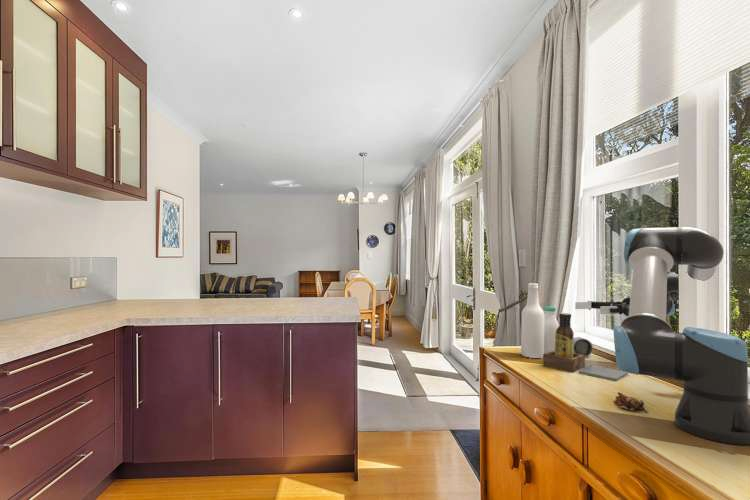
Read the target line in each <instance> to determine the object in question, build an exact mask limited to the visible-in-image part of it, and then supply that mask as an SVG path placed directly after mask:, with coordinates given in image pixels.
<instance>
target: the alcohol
mask: <svg viewBox="0 0 750 500" xmlns="http://www.w3.org/2000/svg"><path fill="white" fill-rule="evenodd" d="M527 288H528V289H527V297H526V299H527V300H526V301H527V302H526V305H525V306H524V308H523V309H522V311H521V325H520V326H521V329H520V330H521V332H520V333H521V334H520V339H521V341H520V343H521V344H520V345H521V347H520V351H521V352H520V353H521V356H522V355H523V356H525V357H524V358H526V357H529V358H528V359H531V358H541V359H543V354H544V309H542V307H541V306H540V298H539V284H538V283H536V282H529V283H528V284H527ZM523 356H522V357H523Z"/></svg>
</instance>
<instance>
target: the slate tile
mask: <svg viewBox="0 0 750 500" xmlns="http://www.w3.org/2000/svg"><path fill="white" fill-rule="evenodd" d="M578 374H580V375H586V376H590V377H595V378H599V379H604V380H609V381H614V382H618V381H620V380H621V379H623V378H625V377H626V376H627V375H628V374H629V372H624V371H621V370H620V369H619V370H618V369H615V368H614V369H613V368H607V367H603V366H597V365H591V364H590V365H588V366H585V367H584V368H582V369H580V370H578Z"/></svg>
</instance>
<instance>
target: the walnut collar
mask: <svg viewBox="0 0 750 500" xmlns="http://www.w3.org/2000/svg"><path fill="white" fill-rule="evenodd" d="M585 358H586V357H585V355H582V354H576V353H573V358H566V357H561V356H555V350H554V351H551V352H548V353H545V354H543V358H542V361H543V362H542V365H543V367H546V368H551V369H555V370H560V371H565V372H569V373H575V372H577V371H579V370H582V369H584V368H586V366H585V365H586V364H585V362H586V359H585Z"/></svg>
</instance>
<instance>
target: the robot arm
mask: <svg viewBox="0 0 750 500" xmlns="http://www.w3.org/2000/svg"><path fill="white" fill-rule="evenodd" d="M724 252H725V251H724V247H723V245H722V244H721V242H720V241H719V240H718V239H717V238H716V237H715V236H714V235H712V234H710V233H709V232H706V231H704V230H702V229H699V228H695V227H690V226H689V227H688V226H685V227H684V226H682V227H639V228H633V229H631V230H629V231H628V232H627V234H626V236H625V240H624V247H623V259H624V262H625V263H627V264H628V265H629V267H630V268H631V269H632V279H631V290H630V297H625V298H623V300H622V301H590V300H587V301H575V303H574V305H575V306H574V307H575V310H589V311H591V310H592V309H595V310H596V309H597V310H599V313H600V315H622V314H623V315H624V316H626V318H624V319H623V320H622V321H621V323H620V325H617V326H616V325H615V326H614V327H613V329H612V330H613V343H614V355H615V363H616V366H617V368H618V369H619V371H624V372H628V374H629V373H631V374H634V375H637V376H638V375H642V376H643V375H644V376H649V377H655V378H661V379H662V378H663V379H667V380H674V381H679V382H683V392H682V395H681V396H680V397H681V398H680V399H679V401H678V404H677V407H676V409H675V412H674V424H675V425H676V426H677V427H678V428H679V429H681V430H683V431H685V432H687V433H689V434H691V435H694V436H698V437H700V438H704V439H707V440H711V441H715V442H719V443H725V444H730V445H742V446H743V445H744V446H747V445H748V446H749V445H750V406H749V380H748V379H749V378H748V374H749V373H748V371H749V370H748V367H749V366H748V363H750V359H749V356H748V355H749V353H748V345H747V343H746V341H744V340H743V339H741V338H740V337H737V336H735V335H731V334H728V333H726V332H722V331H717V330H712V329H706V328H701V327H700V328H699V327H690V326H685V327H684V329H682V332H678V331H673V328H672V326H671V324H669V322H667V317H670V316H674V315H675V314H674V313H675V304H674V302H673V300H672V299H671V298H672V297H671V293H672V292H674V293H677V292H676V291H678V274H676V273H675V272H676V271H671V270H672V269H673V267H674V266H677V265H678V266H682V265H685V266H686V265H687V269H686V270H687V271H686V273H688V275H689V276H690V277H691V278H693V279H697V280H701V281H706V280H708V279H710V278H711V277H712V276H713V275H714V273H715V274H716V270H717V266H718V265H719V264H720V263H721V262H722V260H723V258H724V254H725V253H724Z"/></svg>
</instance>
